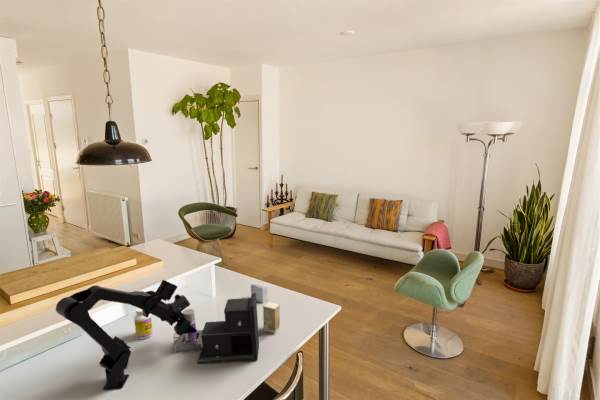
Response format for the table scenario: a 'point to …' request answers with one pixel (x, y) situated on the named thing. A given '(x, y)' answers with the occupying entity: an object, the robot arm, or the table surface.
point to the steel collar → (189, 344)
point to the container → (190, 315)
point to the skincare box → (271, 317)
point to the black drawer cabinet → (232, 334)
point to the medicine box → (259, 291)
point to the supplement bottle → (142, 325)
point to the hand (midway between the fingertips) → (192, 326)
